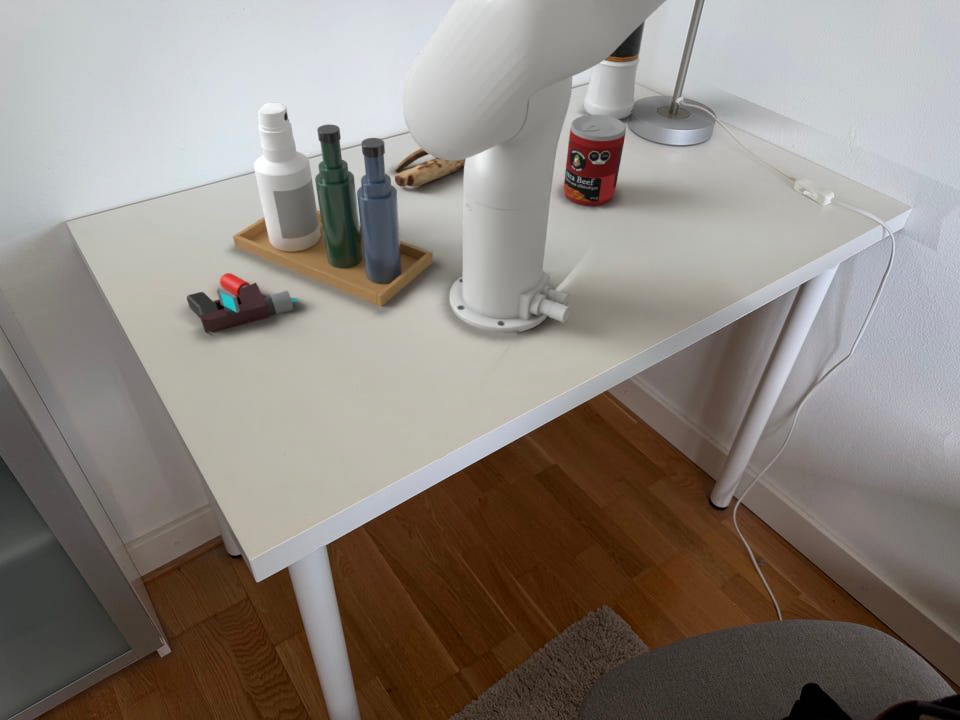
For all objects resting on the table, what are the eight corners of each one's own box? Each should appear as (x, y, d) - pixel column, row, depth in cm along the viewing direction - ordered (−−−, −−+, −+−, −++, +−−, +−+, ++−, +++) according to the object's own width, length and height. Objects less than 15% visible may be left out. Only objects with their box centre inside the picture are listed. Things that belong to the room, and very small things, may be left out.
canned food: (552, 192, 106) (559, 123, 98) (587, 177, 110) (596, 109, 102) (589, 212, 101) (600, 141, 94) (624, 195, 105) (637, 126, 98)
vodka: (583, 120, 126) (608, -70, 106) (582, 100, 133) (605, -82, 112) (634, 123, 125) (669, -67, 105) (630, 103, 132) (662, -79, 112)
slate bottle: (408, 270, 88) (402, 139, 76) (387, 288, 85) (376, 155, 73) (380, 259, 90) (369, 130, 78) (358, 276, 87) (343, 144, 75)
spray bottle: (309, 256, 90) (287, 122, 78) (261, 249, 91) (231, 116, 79) (328, 229, 95) (310, 100, 83) (282, 222, 96) (257, 94, 84)
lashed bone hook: (452, 147, 117) (370, 180, 107) (452, 120, 114) (368, 151, 104) (492, 164, 112) (411, 200, 102) (493, 136, 109) (409, 170, 99)
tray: (433, 265, 90) (432, 252, 89) (381, 310, 83) (380, 296, 82) (293, 213, 99) (291, 200, 98) (235, 249, 92) (232, 236, 90)
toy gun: (305, 314, 82) (298, 281, 79) (201, 343, 78) (190, 309, 75) (282, 272, 88) (275, 239, 85) (185, 296, 84) (174, 263, 81)
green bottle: (369, 255, 91) (357, 126, 79) (347, 272, 88) (331, 141, 76) (342, 245, 92) (326, 117, 80) (319, 261, 89) (299, 131, 77)
